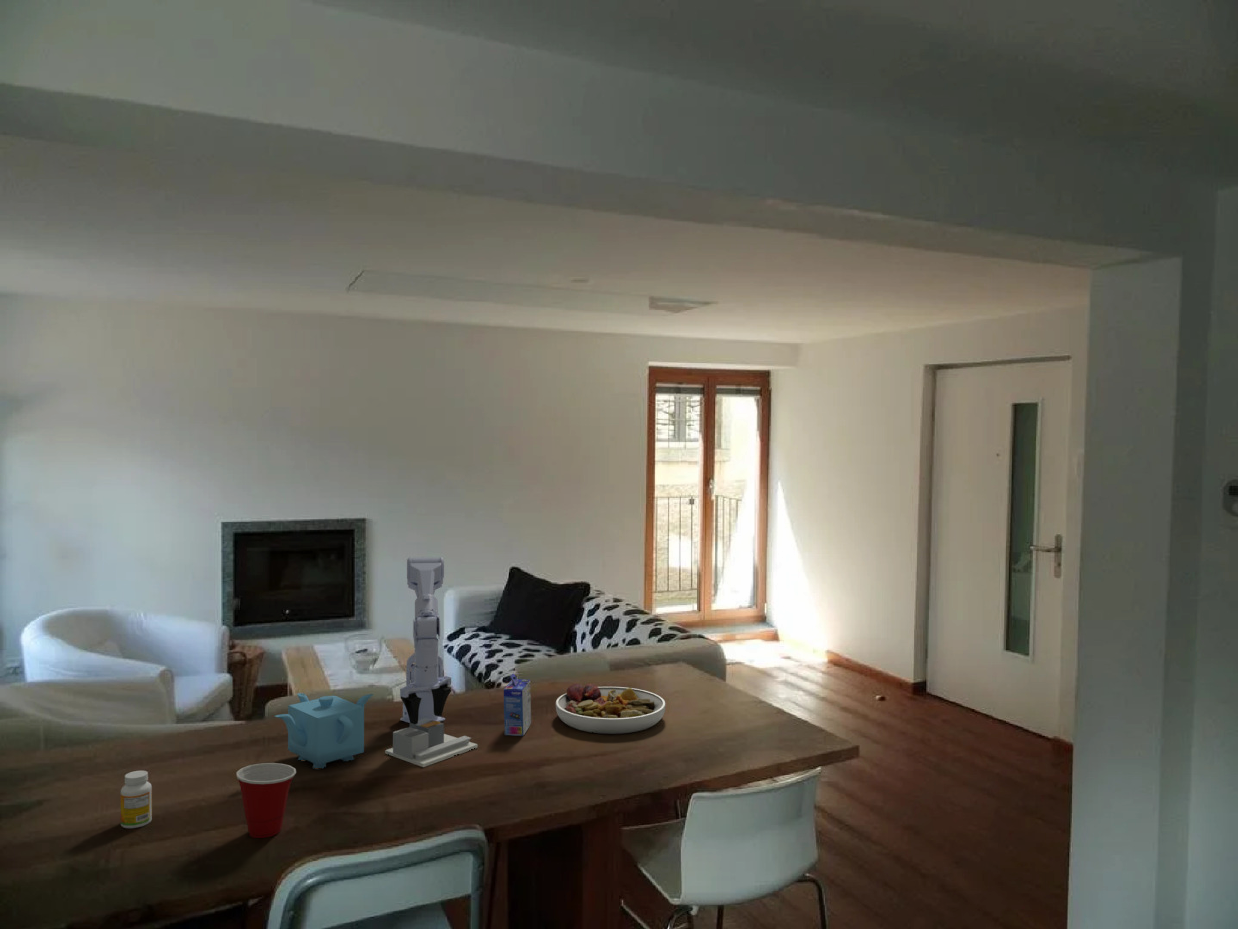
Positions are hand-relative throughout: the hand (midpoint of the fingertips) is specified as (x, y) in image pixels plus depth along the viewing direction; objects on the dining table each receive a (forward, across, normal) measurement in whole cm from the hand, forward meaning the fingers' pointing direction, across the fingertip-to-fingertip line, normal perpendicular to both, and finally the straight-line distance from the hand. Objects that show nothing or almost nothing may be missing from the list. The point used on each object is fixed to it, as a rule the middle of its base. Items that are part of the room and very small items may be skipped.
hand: (426, 719), depth 219 cm
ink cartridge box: (+7, +23, -9) cm, 26 cm away
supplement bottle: (+7, -65, +9) cm, 66 cm away
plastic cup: (+7, -51, -14) cm, 53 cm away
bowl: (+7, +46, -22) cm, 52 cm away
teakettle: (+7, -21, +12) cm, 25 cm away
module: (+6, 0, 0) cm, 6 cm away
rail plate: (+7, -1, -4) cm, 8 cm away
